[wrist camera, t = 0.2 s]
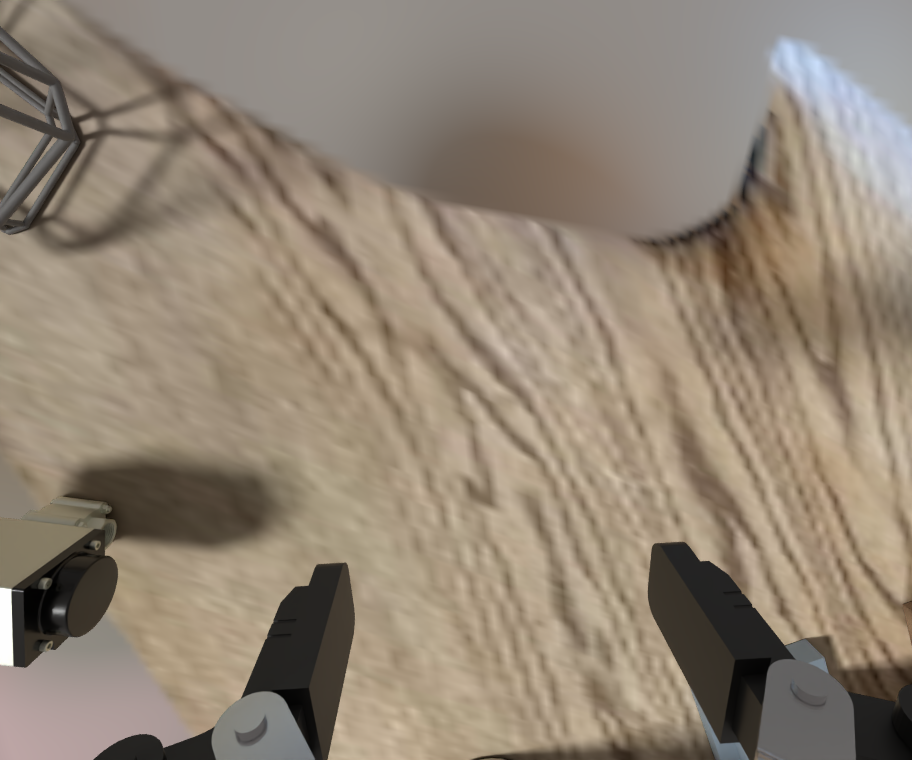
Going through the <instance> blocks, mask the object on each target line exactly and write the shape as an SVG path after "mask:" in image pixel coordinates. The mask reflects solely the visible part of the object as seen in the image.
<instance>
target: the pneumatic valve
mask: <svg viewBox="0 0 912 760" xmlns="http://www.w3.org/2000/svg"><path fill="white" fill-rule="evenodd" d="M111 511H112V508H111V506H108V504H107V502H102V501H94V500H86V499H78V498H69V497H61V496H60V497H57V498H56V499H53V500H52V501H51V504H50V505H48V506H46V507H44V508H42V509H41V510H39V511H38V510H30V511H29V512H27V513H26V514H25V515H24V516H23V517H22V519H21V520H19V519H11V518H2V517H0V665H5V666H15V667H24V668H25V667H27V666H29V665H30V664H31V663H32V662H33V661H34V660H35V659H36V658H37V657H38V656H39V655H40V654H41V653H42V652H47V651H49V650H50V649H51V650H56V649H57V648H58V647H59V646H60V645H61V644H62V643H63V642H64V641H65V640H66V639H67V638H68V637H80V636H82V635H85V634H86V633H87V632H89V631H90V630H91V629H93V627H95V626H96V624H97V623H98V622H99V621H100V620H101V618H102V617H103V615H104V614H105V612H106V610H107V608H108V607H109V605H110V602H111V600H112V598H113V595H114V592H115V589H116V585H117V578H118V568H117V564H116V562H115V560H114V559H113V558H112V557H110V556H105V550H106V549H107V548H108V547H109V546H110V545H111V543H112V542H113V540H114V538H115V535H116V530H117V525H116V522H115V520H113V519H106V515H105V514H109V513H110V512H111Z"/></svg>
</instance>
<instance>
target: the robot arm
mask: <svg viewBox="0 0 912 760" xmlns="http://www.w3.org/2000/svg"><path fill="white" fill-rule="evenodd" d="M648 600H649V605H650V609H651V612H652V615H653V617H654V619H655V621H656V623H657V625H658V627H659V628H660V630H661V632H662V634H663V636H664V638H665V640H666V642H667V644H668V646H669V647H670V649H671V651H672V653H673V655H674V657H675V659H676V661H677V663H678V665H679V666H680V668H681V670H682V672H683V674H684V676H685V678H686V680H687V682H688V684H689V686H690V687H691V689H692V691H693V693H694V695H695V697H696V699H697V701H698V703H699V705H700V706H701V708H702V710H703V712H704V714H705V716H706V718H707V720H708V722H709V724H710V725H711V727H712V729H713V731H714V733H715V735H716V737H717V739H718V741H719V743H720V744H724V743H740V744H741V746H742V748H743V750H744V751H745V753H746V755H747V757H748V759H749V760H912V684H910V685H907V686H905V687H903V688H902V689H901V690H900V692H899V694H898V697H897V700H896V702H893V701H888V700H883V699H879V698H874V697H869V696H865V695H860V694H855V693H851V692H847V691H846V690H845V689H844V687H843V686H842V685H841V684H840V683H839V682H838V681H837V680H836V679H835V678H833V677H832V676H831V675H829V674H828V673H826V672H825V671H823V670H822V669H820V668H818V667H816V666H814V665H811V664H809V663H806V662H803V661H799V660H796V659H795V658H794V657H793V655H792V654H791V653H790V652H789V650H788V649H787V648H786V647H785V645H784V644H783V643H782V642H781V640H780V639H779V638H778V637H777V635H776V634H775V633H774V632H773V630H772V629H771V628H770V627H769V625H768V624H767V623H766V622H765V620H764V619H763V618H762V616H761V615H760V614H759V613H758V611H757V610H756V609H755V608H753V607H752V604H751V603H750V601H749V600H748V599H747V598H746V596H745V595H744V594H742V593H741V590H740V589H739V588H738V586H737V585H736V584H735V582H734V581H733V580H732V579H731V577H730V576H729V575H728V574H727V573H725V572H724V571H722V570H721V569H720V568H718V567H717V566H715V565H714V564H713V563H711V562H710V561H701V562H700V561H699V559H698V558H697V557H696V555H695V554H694V552H693V551H692V550H691V548H690V547H689V546H688V545H687V544H686V543H685V542H671V543H655V544H654V545H653V547H652V551H651V562H650V572H649V582H648ZM354 625H355V613H354V604H353V597H352V590H351V583H350V576H349V570H348V565H347V563H331V564H318V565H316V567H315V569H314V572H313V575H312V578H311V581H310V583H309V586H299V587H295V588H294V589H293V590H292V591H291V592H290V593H289V594H288V595H287V596H286V597H285V599H284V600H283V601H282V602H281V603H280V606H279V608H278V611H277V613H276V616H275V618H274V623H273V624H272V625H271V628H270V630H269V632H268V635H267V639H266V640H265V642H264V645H263V647H262V649H261V652H260V654H259V657H258V659H257V662H256V664H255V666H254V669H253V671H252V674H251V676H250V678H249V681H248V683H247V686H246V688H245V691H244V693H243V695H242V697H241V699H240V700H238V701H237V702H235V703H234V704H233V705H231V706H230V707H229V708H228V709H227V710H226V711H225V712H224V713H223V714H222V716H221V717H220V718H219V720H218V722H217V724H216V725H215V727H213V728H212V729H210V730H208V731H206V732H205V733H202V734H200V735H198V736H195V737H193V738H190V739H187V740H184V741H182V742H179V743H176V744H174V745H171V746H168V747H165V748H163V746H162V744H161V742H160V740H159V739H157V738H156V737H154V736H152V735H147V734H142V735H141V734H139V735H134V736H131V737H128V738H125V739H123V740H121V741H118V742H117V743H115V744H113V745H111V746H110V747H108V748H107V749H106V750H104V751H103V752H102V753H100V754H99V755H98V756H97V757H96V758H95V759H94V760H327V759H328V755H329V750H330V745H331V740H332V735H333V731H334V726H335V721H336V716H337V712H338V707H339V702H340V697H341V692H342V688H343V683H344V678H345V673H346V668H347V664H348V659H349V654H350V649H351V645H352V640H353V635H354ZM480 760H505V759H497V758H488V759H480Z"/></svg>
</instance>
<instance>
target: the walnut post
mask: <svg viewBox="0 0 912 760" xmlns="http://www.w3.org/2000/svg"><path fill="white" fill-rule="evenodd" d="M903 608H904V613H905V617H906V621H907V626H908V630H909V635H910V639H911V644H912V601H911V602H908V603H905V604H903Z"/></svg>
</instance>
